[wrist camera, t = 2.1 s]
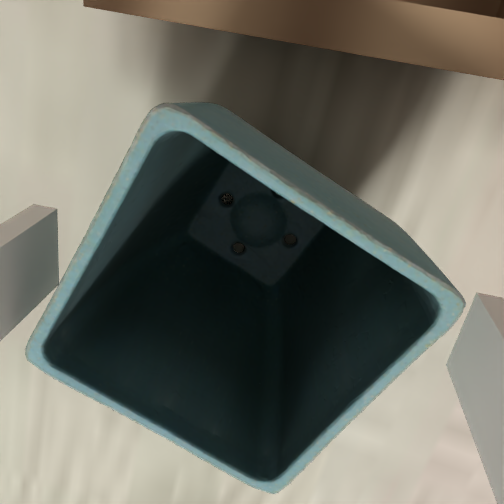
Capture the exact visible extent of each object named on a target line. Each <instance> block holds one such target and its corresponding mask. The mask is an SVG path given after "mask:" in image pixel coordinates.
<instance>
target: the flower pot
mask: <svg viewBox="0 0 504 504" xmlns="http://www.w3.org/2000/svg"><path fill="white" fill-rule="evenodd" d="M226 193H228V194H230V195H232V197H233V202H232V203H231V204H229V205H226V204H224V203H223V202H222V196H223V195H224V194H226ZM276 193H278V194H279V195H278V194H276ZM288 234H292V235H294V236H295V237H296V242H295V243H294V244H292V245H288V244H286V243H285V241H284V237H285V236H286V235H288ZM238 242H240V243H242V244H243V245H244V246H245V250H244V251H243V252H242V253H237V252H235V251H234V248H233V245H234V244H235V243H238ZM465 305H466V302H465V300H464V298H463V296H462V295H461V294H460V292H459V291H458V290H457V289H456V288H455V287H454V286H453V284H452V283H451V282H450V281H449V280H448V278H447V277H446V276H445V275H444V274H443V273H442V272H441V270H440V269H439V268H438V267H437V266H436V265H435V264H434V262H433V261H432V260H431V259H430V258H429V257H428V256H427V255H426V254H425V252H424V251H423V250H422V249H421V248H420V247H419V246H418V245H417V244H416V243H415V241H414V240H413V239H412V238H411V237H410V236H409V235H408V234H407V233H406V232H405V231H404V230H403V229H402V228H401V227H400V226H398V225H397V224H396V223H395V222H394V221H392V220H391V219H389V218H388V217H386V216H385V215H383V214H382V213H380V212H379V211H377V210H376V209H374V208H373V207H371V206H370V205H368V204H367V203H365V202H364V201H362V200H361V199H359V198H358V197H356V196H355V195H353V194H352V193H350V192H349V191H347V190H346V189H344V188H343V187H341V186H340V185H338V184H337V183H335V182H334V181H332V180H331V179H329V178H328V177H326V176H325V175H323V174H322V173H320V172H319V171H317V170H316V169H314V168H313V167H311V166H310V165H308V164H307V163H305V162H304V161H303V160H301V159H300V158H298V157H297V156H295V155H294V154H292V153H291V152H289V151H288V150H286V149H285V148H283V147H282V146H280V145H279V144H278V143H276V142H275V141H273V140H272V139H270V138H269V137H267V136H266V135H264V134H263V133H261V132H260V131H258V130H257V129H256V128H254V127H253V126H251V125H250V124H248V123H247V122H246V121H244V120H243V119H241V118H240V117H238V116H237V115H236V114H234V113H232V112H231V111H229V110H228V109H226V108H224V107H222V106H220V105H218V104H213V103H203V102H198V103H197V102H193V103H163V104H160V105H158V106H156V107H154V108H153V109H152V110H151V111H150V112H149V114H148V115H147V116H146V118H145V119H144V121H143V122H142V124H141V126H140V128H139V130H138V132H137V133H136V136H135V138H134V140H133V142H132V145H131V147H130V148H129V150H128V152H127V154H126V156H125V158H124V160H123V162H122V164H121V166H120V168H119V170H118V172H117V174H116V176H115V177H114V179H113V182H112V184H111V186H110V188H109V190H108V191H107V193H106V195H105V197H104V199H103V201H102V203H101V205H100V207H99V209H98V211H97V213H96V214H95V216H94V218H93V220H92V222H91V224H90V226H89V229H88V231H87V233H86V235H85V236H84V238H83V240H82V242H81V244H80V246H79V247H78V249H77V252H76V253H75V255H74V257H73V258H72V260H71V262H70V264H69V266H68V268H67V270H66V272H65V274H64V276H63V278H62V279H61V281H60V284H59V285H58V287H57V289H56V291H55V292H54V294H53V296H52V298H51V300H50V302H49V304H48V305H47V308H46V310H45V311H44V313H43V315H42V317H41V319H40V320H39V322H38V324H37V326H36V328H35V330H34V331H33V333H32V335H31V336H30V339H29V341H28V343H27V346H26V352H25V355H26V358H27V360H28V361H29V362H30V363H32V364H33V365H35V366H36V367H37V368H38V369H40V370H41V371H43V372H44V373H45V374H47V375H49V376H50V377H52V378H53V379H55V380H58V381H59V382H61V383H63V384H65V385H67V386H68V387H70V388H72V389H74V390H76V391H77V392H79V393H82V394H83V395H85V396H87V397H89V398H92V399H93V400H95V401H97V402H99V403H100V404H103V405H105V406H107V407H109V408H111V409H112V410H113V411H117V412H118V413H120V414H121V415H124V416H126V417H128V418H129V419H131V420H132V421H135V422H136V423H138V424H140V425H142V426H144V427H145V428H147V429H149V430H151V431H153V432H154V433H156V434H158V435H160V436H162V437H164V438H166V439H168V440H169V441H171V442H173V443H174V444H176V445H177V446H180V447H182V448H184V449H185V450H187V451H188V452H190V453H192V454H193V455H195V456H197V457H198V458H200V459H201V460H204V461H206V462H208V463H210V464H211V465H213V466H214V467H216V468H218V469H220V470H222V471H224V472H226V473H227V474H228V475H230V476H232V477H234V478H236V479H238V480H240V481H241V482H243V483H245V484H247V485H249V486H251V487H253V488H255V489H258V490H261V491H264V492H267V493H271V494H276V493H278V492H280V491H281V490H282V489H283V488H285V487H286V486H287V485H289V484H290V483H291V482H292V481H293V480H294V478H295V477H297V476H298V475H299V473H301V472H302V471H303V470H304V469H305V468H306V467H307V466H308V465H309V464H310V463H311V462H312V461H313V460H314V459H315V458H316V457H317V456H318V455H319V454H320V453H321V451H322V450H323V449H324V448H326V447H327V446H328V444H329V443H330V442H331V441H332V440H333V439H334V438H336V436H337V435H339V434H340V433H341V432H342V431H343V430H344V429H345V427H346V426H347V425H349V424H350V422H351V421H352V420H354V419H355V418H356V417H357V416H358V415H359V414H360V413H361V412H362V411H363V410H364V409H365V408H366V407H367V406H368V405H369V404H370V403H371V402H372V401H374V400H375V398H376V397H377V396H379V395H380V394H381V393H382V392H383V391H384V390H385V389H386V388H387V387H388V386H389V385H390V384H391V383H392V382H393V381H394V380H395V379H396V378H397V377H398V376H399V375H400V374H401V373H402V372H404V371H405V370H406V369H407V368H408V367H409V366H410V365H411V364H412V363H413V362H414V361H415V360H416V359H417V358H418V357H419V356H420V355H421V354H423V353H424V352H425V351H426V350H427V349H428V348H429V347H430V346H432V345H433V344H434V343H435V342H436V341H437V340H438V339H439V338H440V337H442V336H443V335H444V334H445V333H446V332H447V331H448V330H449V329H450V328H451V327H452V326H453V325H454V324H455V322H456V321H457V320H458V318H459V317H460V316H461V314H462V312H463V309H464V307H465Z"/></svg>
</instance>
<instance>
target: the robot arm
mask: <svg viewBox="0 0 504 504" xmlns="http://www.w3.org/2000/svg"><path fill="white" fill-rule="evenodd" d="M58 285H59V266H58V224H57V209H56V208H51V207H46V206H41V205H36V204H33V205H32V206H30V207H28V208H27V209H25V210H23V211H22V212H20V213H19V214H17V215H15V216H14V217H12V218H10V219H9V220H7V221H5V222H4V223H2V224H1V225H0V341H1V340H2V339H3V338H4V337H5V336H6V335H7V334H8V333H9V332H10V331H11V330H12V329H13V328H14V327H15V326H16V325H17V324H18V323H20V322H21V321H22V320H23V319H24V318H25V317H26V316H27V315H28V314H29V313H30V312H31V311H32V310H33V309H34V308H35V307H36V306H37V305H38V304H39V303H40V302H41V301H42V300H43V299H44V298H45V297H46V296H47V295H48V294H49V293H50V292H51V291H52V290H53V289H54V288H55V287H56V286H58ZM446 365H447V368H448V371H449V374H450V376H451V379H452V382H453V384H454V387H455V390H456V393H457V395H458V398H459V401H460V403H461V406H462V409H463V412H464V414H465V417H466V420H467V422H468V425H469V428H470V431H471V433H472V436H473V439H474V441H475V444H476V447H477V450H478V452H479V455H480V458H481V460H482V463H483V466H484V469H485V471H486V474H487V477H488V479H489V482H490V485H491V488H492V490H493V493H494V496H495V498H496V501H497V504H504V299H503V298H501V297H496V296H491V295H486V294H481V293H476V295H475V298H474V300H473V302H472V305H471V307H470V309H469V312H468V314H467V317H466V319H465V321H464V324H463V326H462V328H461V331H460V333H459V336H458V338H457V340H456V343H455V345H454V347H453V350H452V352H451V355H450V357H449V359H448V362H447V364H446Z"/></svg>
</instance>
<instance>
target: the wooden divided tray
mask: <svg viewBox="0 0 504 504" xmlns="http://www.w3.org/2000/svg"><path fill="white" fill-rule="evenodd" d="M84 6H85V7H91V8H96V9H102V10H108V11H113V12H119V13H125V14H130V15H136V16H142V17H147V18H153V19H159V20H165V21H170V22H176V23H182V24H187V25H193V26H199V27H204V28H210V29H216V30H221V31H227V32H233V33H239V34H244V35H250V36H256V37H261V38H267V39H273V40H278V41H284V42H290V43H295V44H301V45H307V46H312V47H318V48H324V49H330V50H335V51H341V52H347V53H352V54H358V55H364V56H369V57H375V58H381V59H386V60H392V61H398V62H404V63H409V64H415V65H421V66H426V67H432V68H438V69H443V70H449V71H455V72H460V73H466V74H472V75H477V76H483V77H489V78H495V79H500V80H504V0H84Z"/></svg>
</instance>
